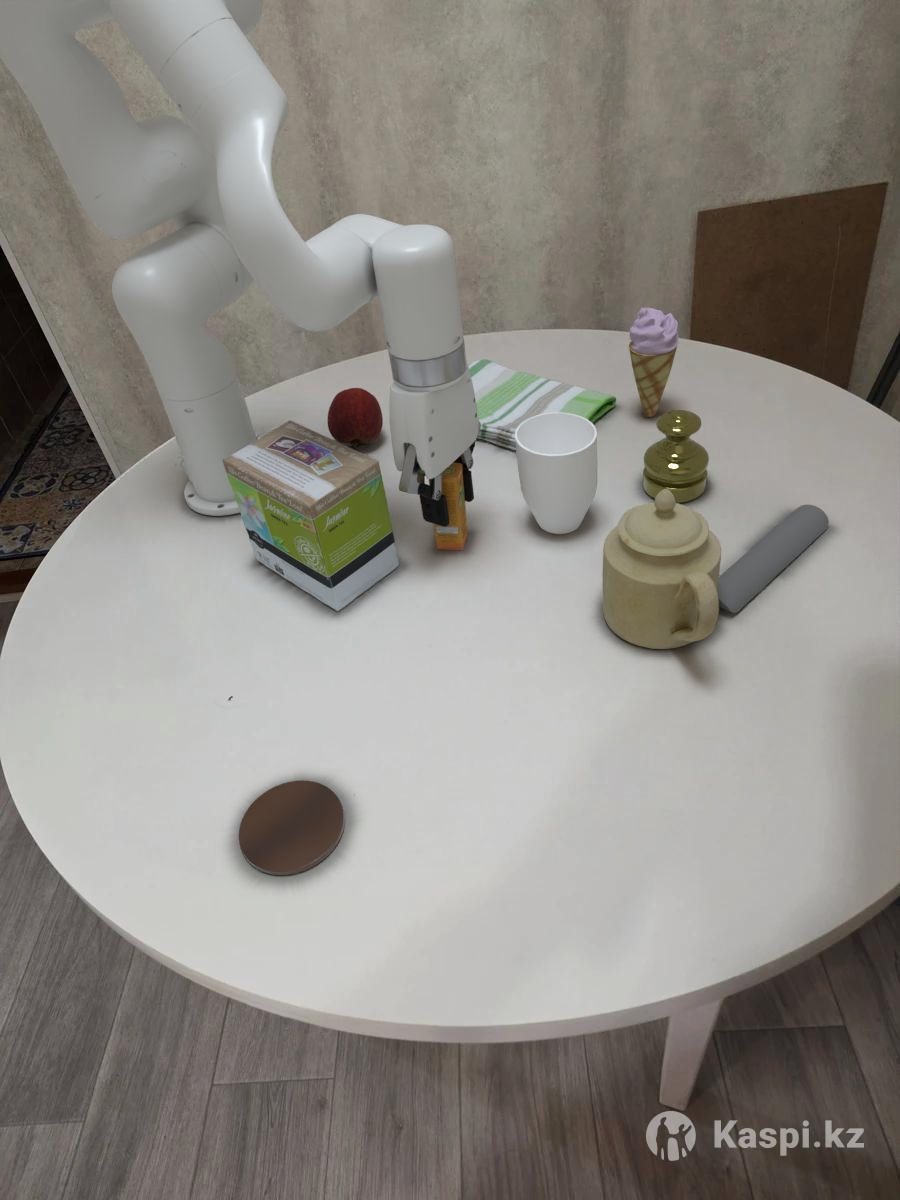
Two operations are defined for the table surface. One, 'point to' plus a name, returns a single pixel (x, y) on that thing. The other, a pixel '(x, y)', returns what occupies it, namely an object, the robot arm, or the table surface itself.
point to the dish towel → (526, 400)
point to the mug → (557, 468)
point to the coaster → (291, 827)
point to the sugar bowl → (661, 575)
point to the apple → (355, 417)
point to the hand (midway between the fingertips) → (449, 508)
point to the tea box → (314, 512)
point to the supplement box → (453, 510)
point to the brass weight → (676, 458)
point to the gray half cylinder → (770, 557)
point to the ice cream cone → (652, 355)
